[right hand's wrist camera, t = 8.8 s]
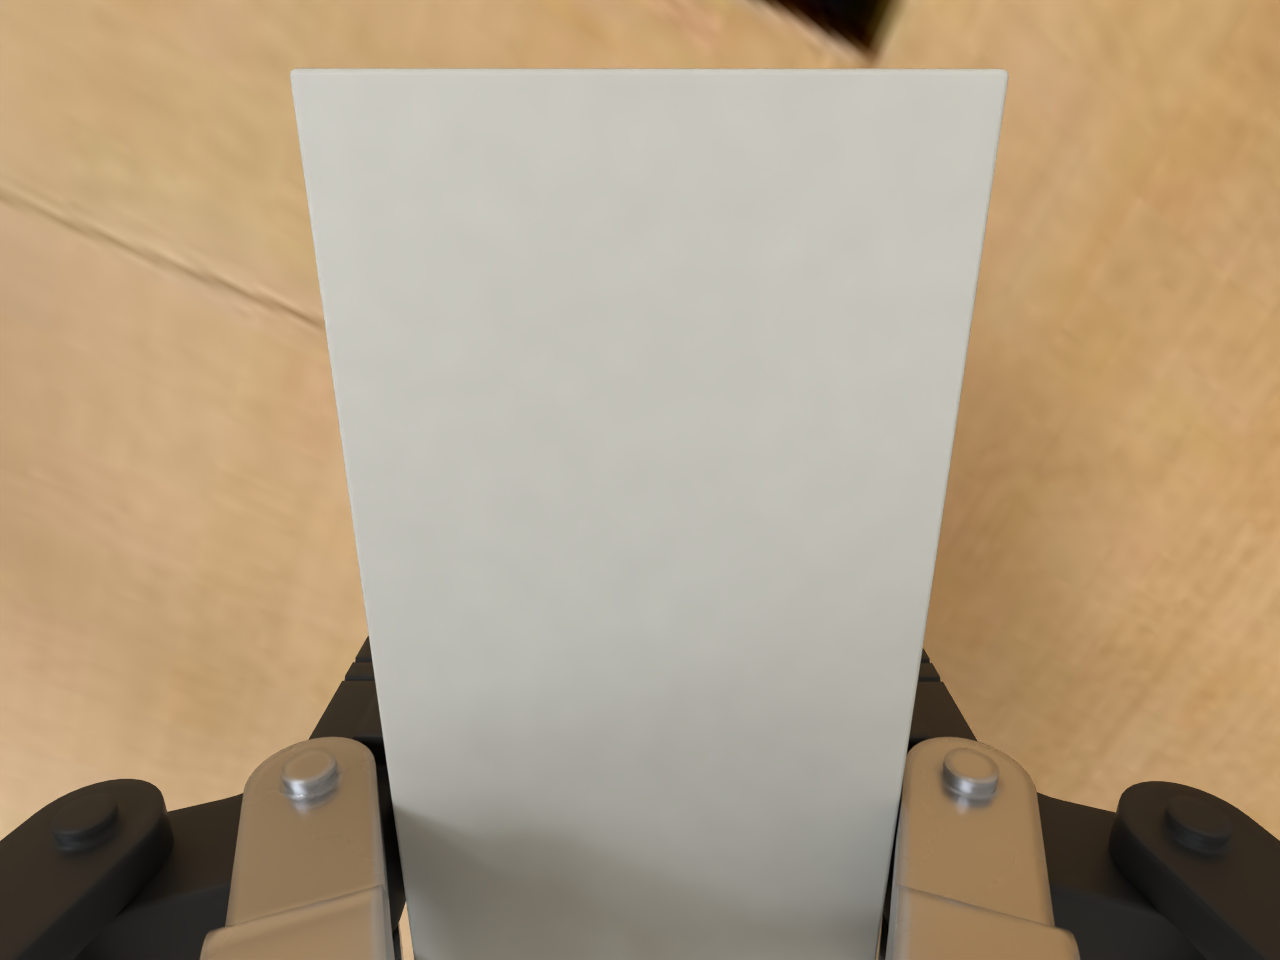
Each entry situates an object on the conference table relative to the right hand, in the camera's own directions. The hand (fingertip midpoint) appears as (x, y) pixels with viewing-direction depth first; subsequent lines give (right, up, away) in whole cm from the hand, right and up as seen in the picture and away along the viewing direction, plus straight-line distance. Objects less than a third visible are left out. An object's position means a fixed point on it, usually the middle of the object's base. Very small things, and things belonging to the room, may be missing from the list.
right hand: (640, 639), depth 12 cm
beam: (0, -23, +11) cm, 25 cm away
